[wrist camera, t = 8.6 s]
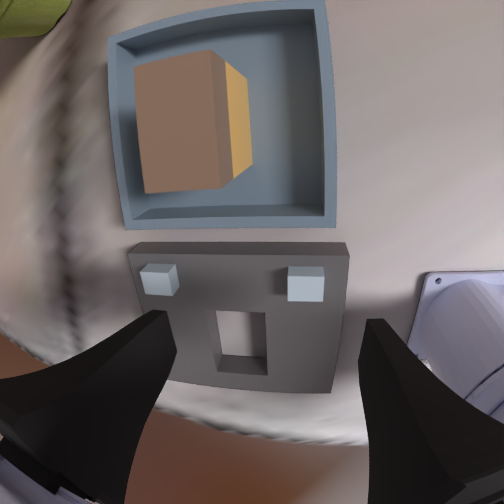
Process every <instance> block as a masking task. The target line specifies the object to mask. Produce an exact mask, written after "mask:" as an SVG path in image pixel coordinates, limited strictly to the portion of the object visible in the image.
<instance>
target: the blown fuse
mask: <svg viewBox="0 0 504 504" xmlns="http://www.w3.org/2000/svg"><path fill="white" fill-rule="evenodd" d="M134 87H135V104H136V117H137V129H138V139H139V148H140V157H141V166H142V173H143V181H144V188H145V194H149V193H161V192H174V191H188V190H205V189H221V188H222V187H224V186H225V185H226V184H228V183H229V182H230V181H231V180H233V179H234V178H235V177H236V176H238V175H239V174H240V173H242V172H243V171H244V170H246V169H247V168H248V167H249V166H251V165H252V164H253V162H252V146H251V131H250V116H249V101H248V86H247V79H246V78H245V77H244V76H243V75H241V74H240V73H239V72H238V71H237V70H236V69H234V68H233V67H232V66H231V65H230V64H228V63H227V62H226V61H225V60H224V59H222V58H221V57H220V56H219V55H217V54H216V53H215V52H214V51H212V50H211V49H209V50H203V51H198V52H192V53H187V54H183V55H178V56H173V57H169V58H165V59H161V60H157V61H153V62H149V63H146V64H142V65H138V66H135V67H134Z"/></svg>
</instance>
